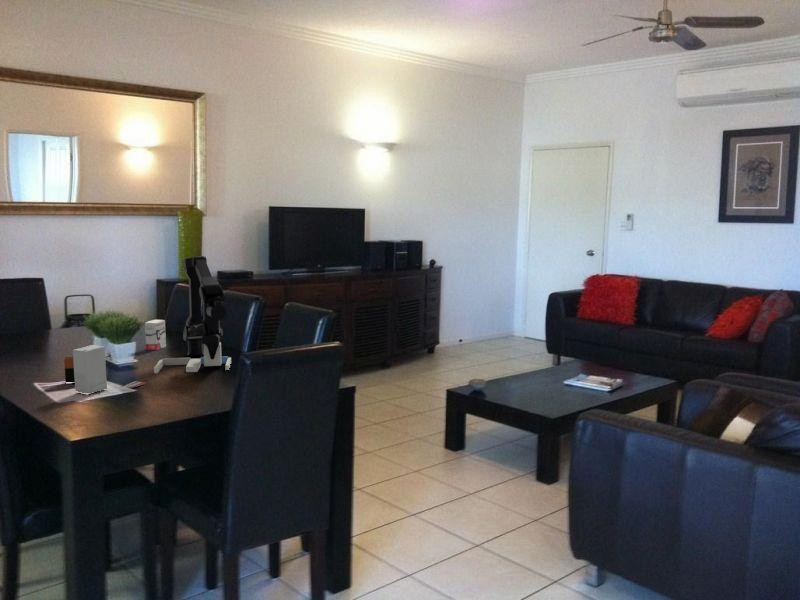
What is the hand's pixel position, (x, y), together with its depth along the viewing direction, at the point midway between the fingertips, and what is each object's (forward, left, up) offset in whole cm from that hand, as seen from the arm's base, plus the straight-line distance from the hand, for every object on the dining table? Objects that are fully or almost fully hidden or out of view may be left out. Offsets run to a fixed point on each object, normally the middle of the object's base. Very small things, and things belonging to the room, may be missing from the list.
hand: (212, 357), depth 272 cm
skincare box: (+31, -36, -4) cm, 48 cm away
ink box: (-41, -27, -4) cm, 49 cm away
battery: (+17, -44, -4) cm, 47 cm away
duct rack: (0, -7, -4) cm, 8 cm away
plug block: (0, 0, -3) cm, 3 cm away
